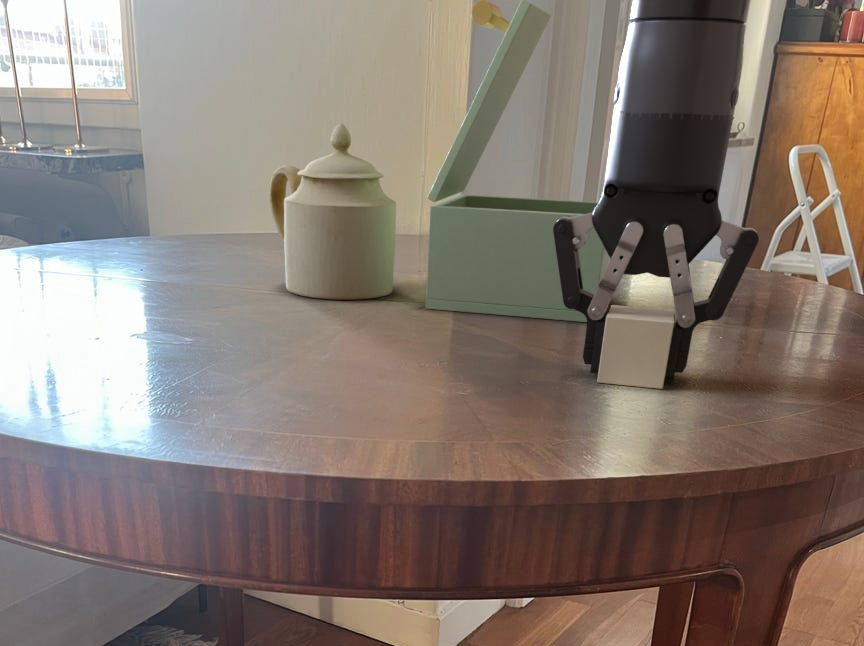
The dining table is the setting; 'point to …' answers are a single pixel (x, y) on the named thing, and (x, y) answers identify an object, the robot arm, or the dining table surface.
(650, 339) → the block
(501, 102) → the chest lid
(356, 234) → the sugar bowl
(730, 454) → the dining table surface
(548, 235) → the chest
